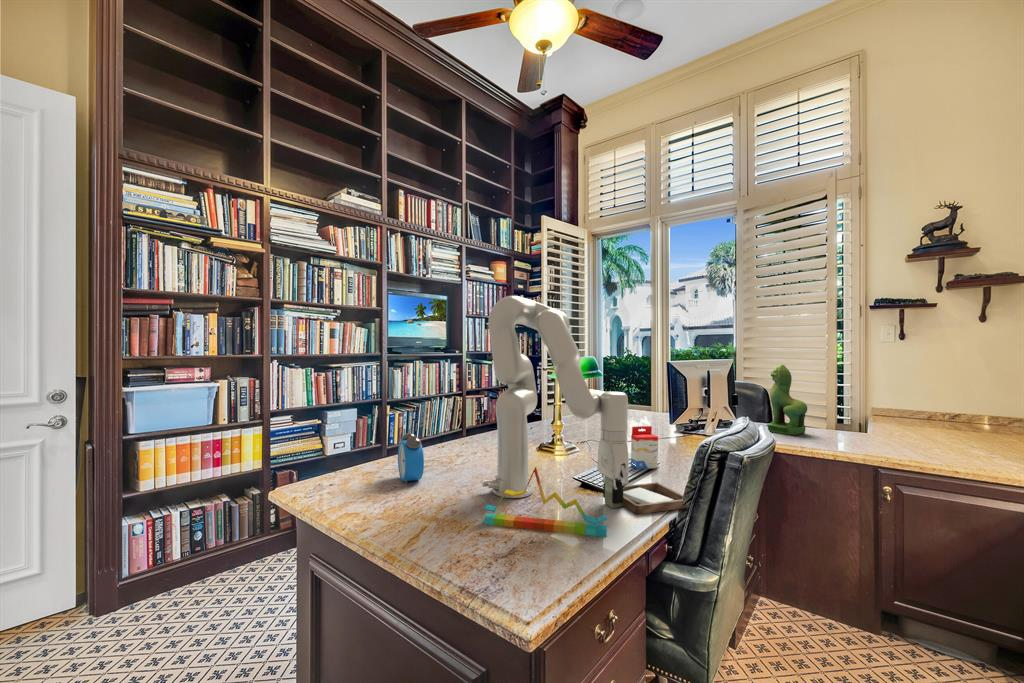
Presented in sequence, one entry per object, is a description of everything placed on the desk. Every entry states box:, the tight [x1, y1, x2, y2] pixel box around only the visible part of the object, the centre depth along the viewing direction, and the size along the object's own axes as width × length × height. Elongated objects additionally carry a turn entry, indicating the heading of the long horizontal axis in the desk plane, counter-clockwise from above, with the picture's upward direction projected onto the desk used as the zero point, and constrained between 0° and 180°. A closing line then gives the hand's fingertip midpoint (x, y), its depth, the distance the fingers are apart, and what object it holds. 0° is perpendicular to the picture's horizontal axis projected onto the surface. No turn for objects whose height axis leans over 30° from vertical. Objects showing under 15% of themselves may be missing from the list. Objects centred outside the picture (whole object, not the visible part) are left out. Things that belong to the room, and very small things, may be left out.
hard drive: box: [623, 487, 674, 505], centre depth 131 cm, size 2×8×12 cm
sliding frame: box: [604, 476, 692, 515], centre depth 130 cm, size 22×16×8 cm
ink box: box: [630, 425, 659, 470], centre depth 166 cm, size 8×5×15 cm, turn 102°
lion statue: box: [766, 364, 808, 436], centre depth 230 cm, size 14×17×35 cm
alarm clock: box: [397, 432, 425, 485], centre depth 148 cm, size 13×6×15 cm, turn 25°
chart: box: [483, 467, 608, 538], centre depth 112 cm, size 30×3×15 cm, turn 77°
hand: (613, 499), depth 127 cm, fingers closed on sliding frame, 4 cm apart
